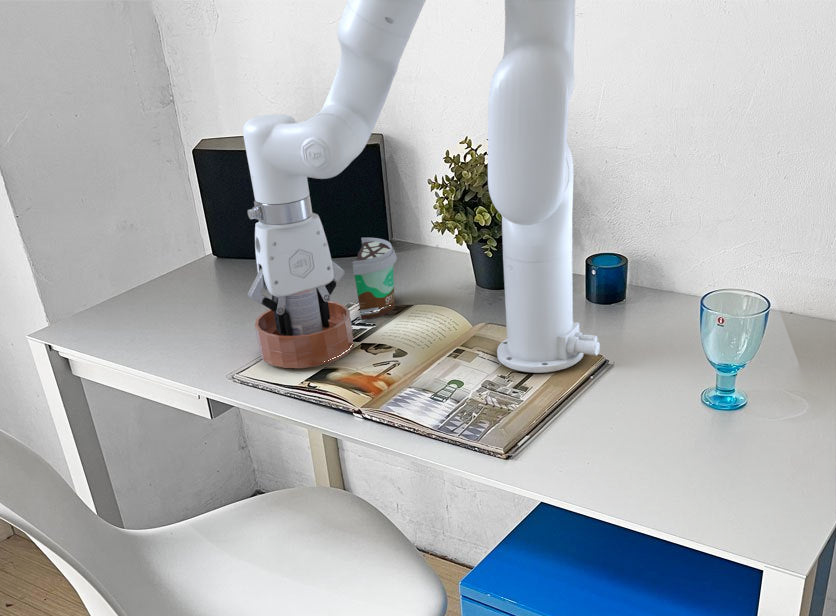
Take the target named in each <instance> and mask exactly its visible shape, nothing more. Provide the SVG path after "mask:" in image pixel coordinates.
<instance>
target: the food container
mask: <svg viewBox="0 0 836 616" xmlns="http://www.w3.org/2000/svg"><path fill="white" fill-rule="evenodd" d="M397 259H398V257H397V254H396V251H395V249H394V247H393V245H392V243H391V242H390V241H388V240H386V239H383V238H378V237H361V247H360V250H359V251H357V256H356V260H352V273H353V276H354V280H355V287H356V293H357V300H358V307H359V313H360V318H361V320H368V319H374V318H379V317H381V316H385V315H387V314H388V313H390V312H392V311H393V310H394V309H395V306H396V302H395V301H396V300H395V279H394V276H395V275H394V264H395V263H396V262H397ZM389 305H391V306H389ZM385 306H389V307H387V308H385V309H383V310H380V311H376V312H371V313H365V312H369V311H374V310H378V309H380V308H382V307H385ZM361 313H362V314H361Z"/></svg>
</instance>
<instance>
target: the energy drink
mask: <svg viewBox="0 0 836 616" xmlns="http://www.w3.org/2000/svg"><path fill="white" fill-rule="evenodd" d="M285 312H287V313H288V314H289V318H290V324H291V329H292V335H293V336H298V335H308V334H312V333H317V332H321V331H323V327H322V321H321V315H320V308H319V302H318V296H317V289H316V288H315V289H309V290H305V291H302V292H299V293H297V294H293V295H289V296H286V304H285Z"/></svg>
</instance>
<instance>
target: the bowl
mask: <svg viewBox="0 0 836 616" xmlns="http://www.w3.org/2000/svg"><path fill="white" fill-rule="evenodd" d="M328 307H329V313H330V319H329V320H328V321H329V327H328V328H324V327H323V331H321V332H317V333H312V334H308V335H298V336H283V335H281V334H280V333H279V332H278V331H277V328H276V323H275V317H274V312H273V311H272V310H271V309H269V308H268V310H266V311H264V312H263V313H261V314H259V316H258V317H257V318H255V322H254V329H255V335H256V339H257V344H258V350H259V354H260V357H261V358H262V360H263V361H264V362H265V363H267V364H269V365H271V366H273V367H278V368H284V369H304V368H305V369H306V368H314V367H318V366H322V365H326V364H330V363H332V362H335V361H337V360H339V359H342V358H343V357H345V356H346V355H348V354H349V353H351V352H352V350H353V348H354V347H355V343H354V344H353V339H354V333H353V325H352V319H351V317H352V316H351V311H350V309H349V308H348V307H347V306H346V305H345V304H343V303H339V302H337V301H331V300H329V301H328ZM354 340H355V339H354ZM352 344H353V345H352ZM351 345H352V347H351V348H350V346H351ZM349 348H350V350H348V349H349ZM346 350H348V351H347V352H345V351H346ZM343 352H345V353H344V354H342V353H343ZM341 354H342V355H341ZM339 355H341V356H339ZM337 356H339V357H337ZM334 357H336V358H334ZM332 358H334V359H332ZM330 359H331V360H330ZM328 360H329V361H328ZM324 361H325V362H324Z"/></svg>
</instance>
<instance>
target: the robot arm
mask: <svg viewBox="0 0 836 616" xmlns="http://www.w3.org/2000/svg"><path fill="white" fill-rule="evenodd" d="M426 1H427V0H347V1H346V5H345V7H344V10H343V12H342V15H341V17H340V19H339V22H338V25H337V34H336V35H337V39H338V43H339V48H340V57H339V63H338V66H337V70H336V74H335V76H334V79H333V82H332V84H331V87H330V89H329V92H328V94H327V97H326V99H325V102H324V104H323V105H322V108H321V110H320V111H319V112H317V113H316V114H314V115H313V116H312V117H310V118H308V119H306V120H304V121H301V122H298V121H297V120H296V119H295V118H294V117H292V116H291V115H287V114H282V113H281V114H279V113H278V114H277V113H276V114H265V115H259V116H254V117H253V118H250V119H248V120H246V122H245V123H244V125H243V128H242V133H243V134H242V135H243V141H244V147H245V152H246V158H247V163H248V169H249V175H250V180H251V186H252V190H253V197H254V201H253V204H254V205H253V207H252V208H250V209H247V216H248V218H249V220H254V219H255V220H256V221H257V220H258V222H256V223H255V227H254V249H255V261H256V271H257V274H256V276H255V279H254V281H253V282H252V284H251V285H250V288H249V290H248V292H247V297H248V298H250V299H251V300H252V301H255V302H256V303H258V304H261V305H263V306H264V307H266V308H267V309H268V310H269V309H271V310H272V311H273V312H274V317H275V323H276V328H277V331H278V332H279V333H280V334H281V335H283V336H293V335H292V329H291V324H290V318H289V314H288V313H287V312H285V304H286V296H289V295H293V294H297V293H299V292H302V291H305V290H309V289H315V288H316V289H317V296H318V302H319V308H320V315H321V321H322V327H324V328H328V327H329V321H328V320H329V319H330V313H329V307H328V301H331V295H332V293H333V292H334V290H335V289H336V287H337V284H338V283H339V282H340V280H341V279H342V277H343V276H344V275H345V270H344V269H343V268H342V267H341V266H340V265H338V264H337V263H335V261H334V260H332V256H331V255H332V254H331V252H330V247H329V243H328V240H327V236H326V233H325V231H324V225H323V223H322V221H321V218H320V216H319V214H318V213H315V212H313V208H312V207H313V206H312V202H311V195H310V188H309V181H308V178H312V179H317V180H319V179H320V180H325V179H326V180H327V179H332V178H334V177H337V176H338V175H339V174H341V173H342V172H343V171H344V170H345V169H346V168H347V167H349V165H350V164H351V163H352V162H353V161H354V160H355V159H356V158H358V156H359V155H360V154H361V153H362V152H363V151H364V149H365V148H366V146H367V144H368V142H369V140H370V137H371V135H372V133H373V130H374V129H375V126H376V124H377V122H378V119H379V118H380V115H381V113H382V110H383V108H384V106H385V103H386V101H387V99H388V95H389V92H390V89H391V88H392V84H393V81H394V78H395V76H396V74H397V72H398V69H399V64H400V61H401V59H402V57H403V54H404V52H405V49H406V47H407V46H408V42H409V40H410V37H411V35H412V33H413V31H414V28H415V26H416V23H417V22H418V19H419V17H420V15H421V12H422V10H423V7H424V6H425V3H426ZM504 14H505V15H504V45H503V55H502V58H501V60H500V61H499V62H498V64H497V66H496V68H495V70H494V72H493V74H492V76H491V77H492V78H491V80H490V84H489V92H488V104H487V112H488V113H487V115H488V116H487V187H488V193H489V197H490V200H491V202H492V205H493V206H494V208H495V209H496V211H497V212H498V213H499V215H501V234H502V235H501V236H502V237H501V238H502V240H501V241H502V265H503V266H502V267H503V283H504V285H503V287H504V305H505V325H506V327H505V328H506V338H505V339H504V340H502V341H501V342H500V343H499V344H498V346H497V349H496V356H497V360H498V361H499V362H500V363H501V364H502V365H503V366H504V367H507V368H508V369H511V370H514V371H517V372H523V373H532V374H533V373H535V374H540V373H543V374H544V373H552V372H558V371H562V370H565V369H568V368H570V367H572V366H574V365H576V364H577V363H578V362H580V361H581V360H582V359H583V358H584V355H588V356H589V355H590V356H595V357H596V356H598V355H599V353H600V350H601V344H600V341H598V336H597V335H593V334H583V332H581V331H580V322H576V321H574V315H573V314H574V306H573V305H574V301H573V300H574V299H573V296H574V294H573V291H574V289H573V208H574V207H573V204H574V174H575V173H574V172H575V171H574V159H573V155H572V151H571V149H570V147H569V144H568V142H567V141H568V126H569V111H570V110H569V108H570V101H571V99H572V96H573V92H574V88H575V33H576V32H575V31H576V0H504ZM264 290H265V291H268V292H269V294H270V296H269V297H267V296H266V295H264V294H263V291H264Z"/></svg>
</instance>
